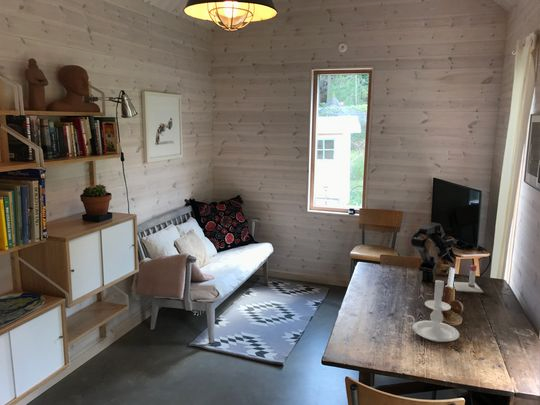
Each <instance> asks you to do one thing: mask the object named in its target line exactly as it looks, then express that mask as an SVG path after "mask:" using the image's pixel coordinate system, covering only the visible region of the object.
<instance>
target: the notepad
mask: <svg viewBox="0 0 540 405" xmlns="http://www.w3.org/2000/svg"><path fill="white" fill-rule="evenodd" d="M453 282H454V287H455V289H456V291H455V292H463V293H479V294H484V292H485V291H484V290H482V289H481V287H480V286H478V284H477V283H476V282H475V284H474V285H475V287H469V286H468V284H469V282H463V281H462V282H461V281H453Z"/></svg>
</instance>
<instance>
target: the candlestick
mask: <svg viewBox="0 0 540 405" xmlns="http://www.w3.org/2000/svg"><path fill="white" fill-rule="evenodd" d="M444 287H445V281H444V280H440V279H437V280H435V282H434V296H433V299H431V300H426V301H425V302H424V305H425V306H426V307H427V308H429V309H431V310H432V312H431V313H430V314H429V318H430V320H420V321H417V322H416V319H415V317H414V316H413V315H410V314H409V315H408V314H406V313H404V314H403V316H405V317H404V323H406V325H407V327H408V329H409V330H413V331H414V333H416V334H417V335H419V336H420V337H422V338H424V339H425V340H427V341H432V342H435V343H447V342H452V341H456V340H457V339H459V338H460V332H459V331H458V329H457V328H455V327H454V326H452V325H449V324H447V323H445V322H443V321H444V315H443V313H442V312H443V311H449V310H451V308H452V306H451V305H450V304H449V303H447V302H444V301H442V299H443V297H444V289H445V288H444ZM408 318H411V319H412V320H413V321H412V322H408V320H407V319H408ZM411 326H412V327H411Z"/></svg>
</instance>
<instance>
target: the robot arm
mask: <svg viewBox="0 0 540 405" xmlns="http://www.w3.org/2000/svg"><path fill="white" fill-rule="evenodd" d="M445 234H446V233H445V230H444V229H443V226H442V224H441V223H437V222H429V223H428V225H427V226H423V227H420V228H419V229H418V231H417V232H416V233H415V234H413V236H412V238H411V240H410V244H411V246H412V247H413V249H415V250H417V251H418V253H419V255H420V258H421V262H420V264H419V265H420V266H419V267H418V269H419V272H420V271H421V275H420V278H419V279H420V280H421V282H422V283H434V274H435V273H436V271H437V269H436V265H437V264H436V260H437V259H436V258H435V256H431V254H430V252H429V251H428V248H427V246H428V244H429V242H430V241H431V242H432V244H434V247H435V248H437V249H438V252H437V257H438V258H440V259H443V260H444V261H445V260H446V261H447V262H449V263H452V264H454V260H457V256H456V254H455V252H454V245H455V244H456V239H455V238H454V237H452V236H450V237H448V239H446V240H445V238H443V237H444V236H445ZM422 235H423V236H425V237H426V238H423V237H421V238H420V236H422ZM429 240H430V241H429Z"/></svg>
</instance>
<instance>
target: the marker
mask: <svg viewBox="0 0 540 405" xmlns="http://www.w3.org/2000/svg"><path fill="white" fill-rule="evenodd" d="M469 266H470V267H469V277H468V278H469V280H468V283H469V284H468V286H469V287H475V285H474V284H475V283H476V282H475V281H476V275H477V274H476V273H477V265H474V264H470V265H469Z"/></svg>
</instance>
